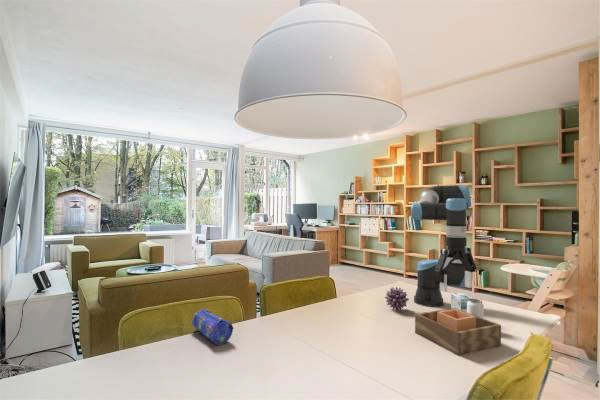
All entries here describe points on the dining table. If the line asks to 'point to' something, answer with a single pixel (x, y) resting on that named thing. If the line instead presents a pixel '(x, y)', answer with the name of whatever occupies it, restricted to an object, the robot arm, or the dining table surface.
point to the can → (475, 307)
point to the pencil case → (212, 326)
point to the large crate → (458, 334)
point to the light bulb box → (459, 301)
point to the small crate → (456, 320)
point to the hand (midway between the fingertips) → (456, 289)
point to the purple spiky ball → (396, 298)
